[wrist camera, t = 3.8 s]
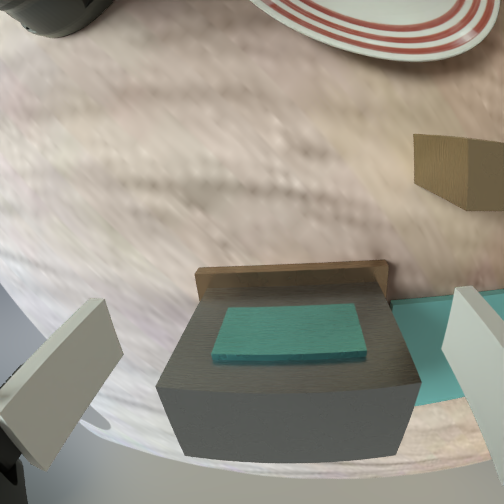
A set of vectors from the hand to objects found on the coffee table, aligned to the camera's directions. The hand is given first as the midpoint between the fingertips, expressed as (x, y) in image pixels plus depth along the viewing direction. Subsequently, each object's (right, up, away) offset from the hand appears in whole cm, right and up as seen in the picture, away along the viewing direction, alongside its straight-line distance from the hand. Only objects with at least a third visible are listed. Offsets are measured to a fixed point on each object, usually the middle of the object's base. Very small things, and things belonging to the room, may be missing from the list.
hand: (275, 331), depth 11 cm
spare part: (+16, +11, +14) cm, 24 cm away
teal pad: (+22, -9, +21) cm, 32 cm away
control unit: (+3, -3, +21) cm, 22 cm away
